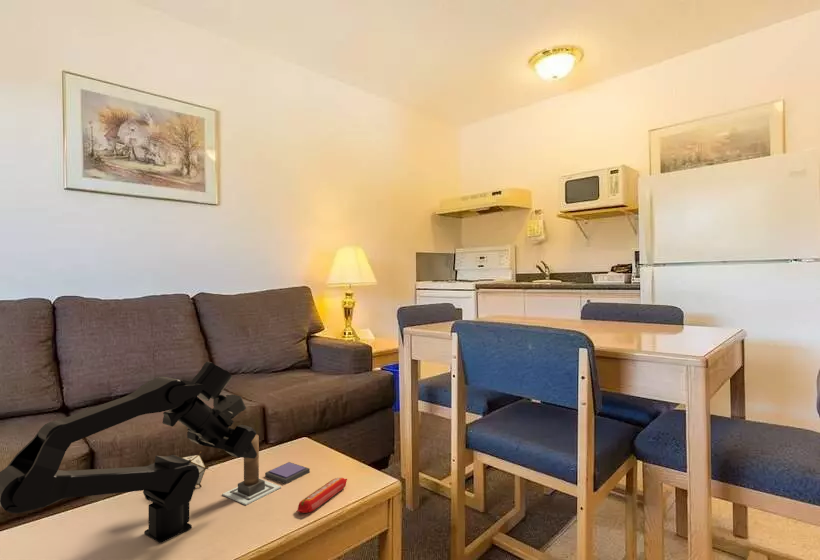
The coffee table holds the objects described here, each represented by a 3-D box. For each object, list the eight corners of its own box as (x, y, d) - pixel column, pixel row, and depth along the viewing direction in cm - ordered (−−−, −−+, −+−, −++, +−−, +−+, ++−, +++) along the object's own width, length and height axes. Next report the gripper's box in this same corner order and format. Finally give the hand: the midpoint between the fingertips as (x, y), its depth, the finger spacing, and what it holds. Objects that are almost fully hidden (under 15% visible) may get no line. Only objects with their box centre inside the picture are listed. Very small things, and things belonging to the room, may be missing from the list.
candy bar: (337, 484, 107) (337, 472, 108) (349, 487, 106) (349, 475, 106) (293, 515, 93) (293, 501, 93) (307, 519, 91) (306, 505, 91)
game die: (193, 505, 105) (194, 482, 99) (161, 492, 105) (160, 469, 100) (215, 473, 112) (217, 450, 107) (185, 461, 112) (185, 438, 107)
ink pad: (286, 484, 107) (286, 478, 107) (265, 476, 112) (265, 471, 112) (309, 472, 114) (309, 467, 114) (289, 465, 118) (289, 460, 118)
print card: (246, 505, 97) (245, 503, 97) (222, 495, 102) (222, 493, 102) (281, 487, 105) (281, 485, 105) (257, 478, 110) (257, 477, 110)
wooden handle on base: (249, 496, 100) (249, 441, 101) (237, 491, 103) (237, 437, 103) (264, 489, 104) (264, 435, 104) (253, 484, 106) (253, 432, 107)
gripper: (249, 391, 92) (288, 428, 101) (200, 381, 103) (240, 416, 112) (215, 438, 86) (260, 474, 95) (166, 423, 96) (211, 456, 105)
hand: (243, 452), depth 102 cm, fingers open, 9 cm apart
